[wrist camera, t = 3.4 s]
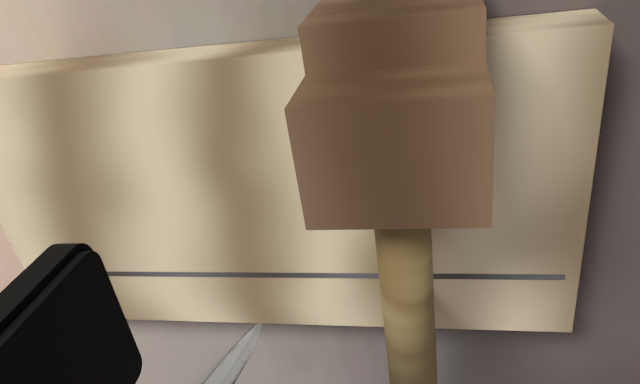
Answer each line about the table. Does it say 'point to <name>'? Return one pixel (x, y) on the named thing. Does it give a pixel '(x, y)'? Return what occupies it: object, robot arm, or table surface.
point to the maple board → (293, 183)
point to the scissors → (235, 358)
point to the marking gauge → (396, 145)
